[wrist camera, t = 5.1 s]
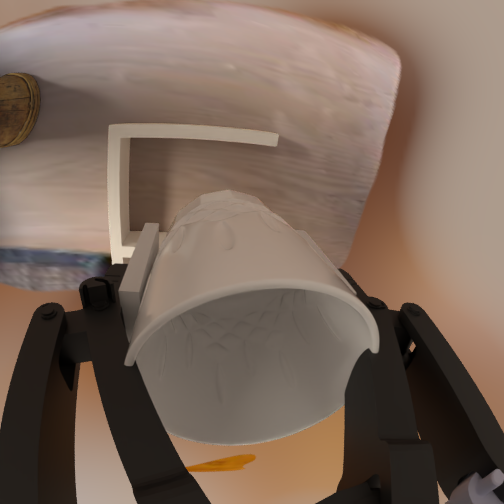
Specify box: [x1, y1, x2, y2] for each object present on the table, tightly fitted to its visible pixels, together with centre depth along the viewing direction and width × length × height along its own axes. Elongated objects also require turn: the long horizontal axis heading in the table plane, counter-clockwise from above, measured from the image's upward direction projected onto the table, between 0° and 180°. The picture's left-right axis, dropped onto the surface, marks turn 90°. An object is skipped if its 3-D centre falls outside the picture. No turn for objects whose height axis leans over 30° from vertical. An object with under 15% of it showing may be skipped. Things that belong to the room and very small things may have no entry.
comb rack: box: [107, 123, 279, 265], centre depth 29 cm, size 15×25×5 cm, turn 172°
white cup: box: [124, 189, 380, 446], centre depth 12 cm, size 8×8×10 cm
